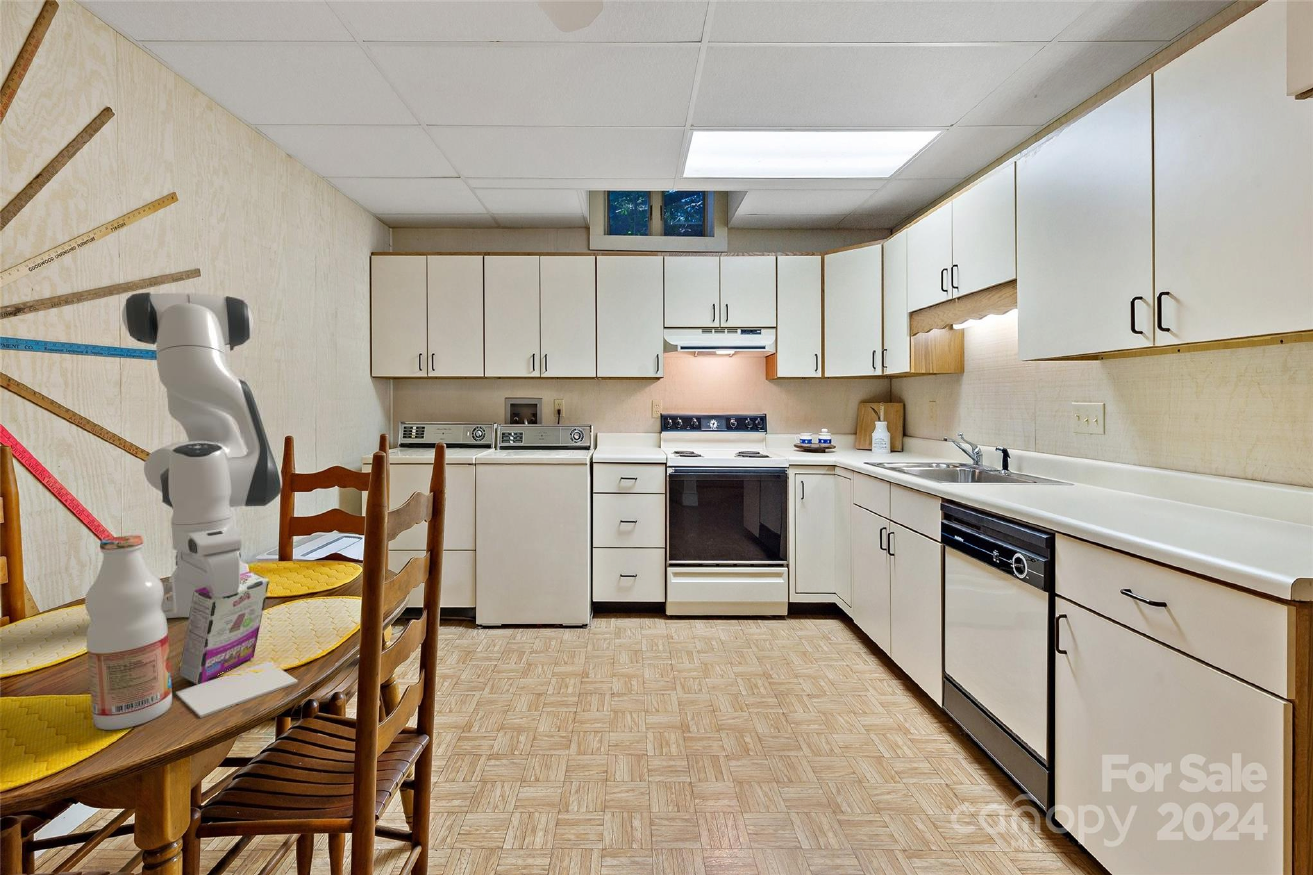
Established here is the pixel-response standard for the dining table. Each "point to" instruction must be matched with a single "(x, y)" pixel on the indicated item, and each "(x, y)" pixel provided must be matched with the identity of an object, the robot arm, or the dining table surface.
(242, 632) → the candy bar box
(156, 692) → the fruit juice
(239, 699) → the mat
